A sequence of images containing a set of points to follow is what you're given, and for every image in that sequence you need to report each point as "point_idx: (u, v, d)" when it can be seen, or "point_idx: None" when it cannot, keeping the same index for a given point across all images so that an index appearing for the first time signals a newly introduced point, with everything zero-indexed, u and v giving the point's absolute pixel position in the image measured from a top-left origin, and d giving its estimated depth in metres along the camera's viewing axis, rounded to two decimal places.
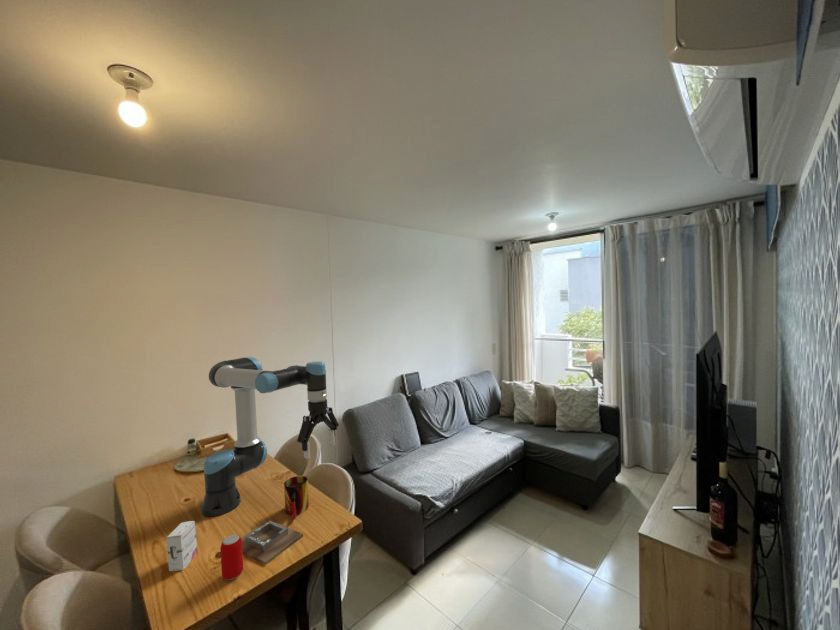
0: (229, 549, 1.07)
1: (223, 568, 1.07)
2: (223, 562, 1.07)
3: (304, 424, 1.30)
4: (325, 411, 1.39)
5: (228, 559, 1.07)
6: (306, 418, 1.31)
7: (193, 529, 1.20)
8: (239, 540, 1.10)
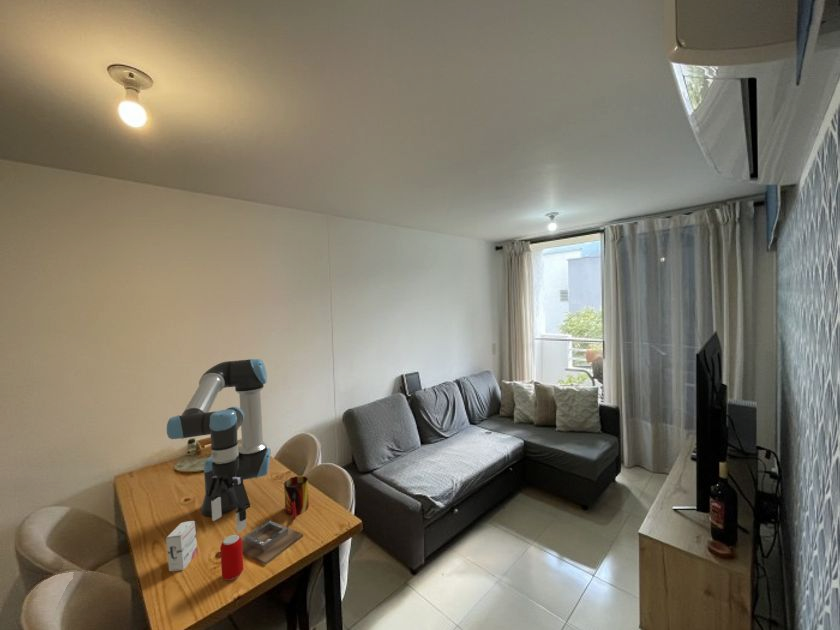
0: (229, 549, 1.07)
1: (223, 568, 1.07)
2: (223, 562, 1.07)
3: None
4: (228, 479, 1.06)
5: (228, 559, 1.07)
6: None
7: (193, 529, 1.20)
8: (239, 540, 1.10)
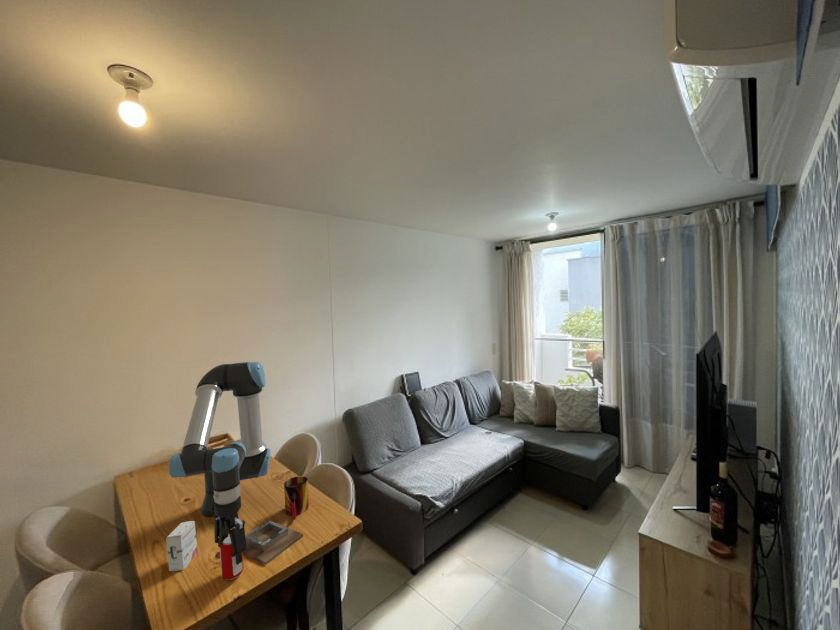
0: (229, 549, 1.07)
1: (223, 568, 1.07)
2: (223, 562, 1.07)
3: None
4: (230, 520, 1.07)
5: (228, 559, 1.07)
6: None
7: (193, 529, 1.20)
8: None
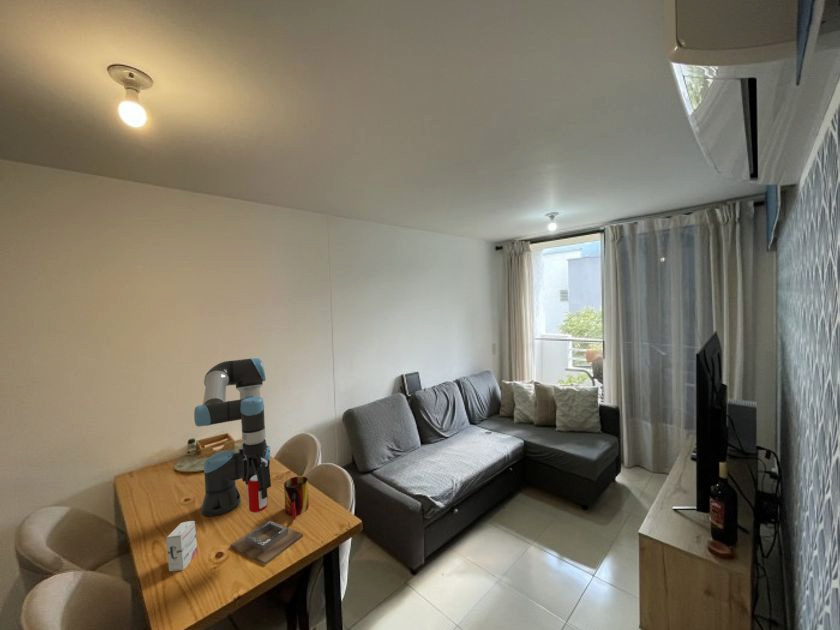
0: (255, 485, 1.19)
1: (250, 502, 1.19)
2: (250, 496, 1.19)
3: None
4: (257, 459, 1.19)
5: (255, 494, 1.19)
6: None
7: (193, 529, 1.20)
8: None
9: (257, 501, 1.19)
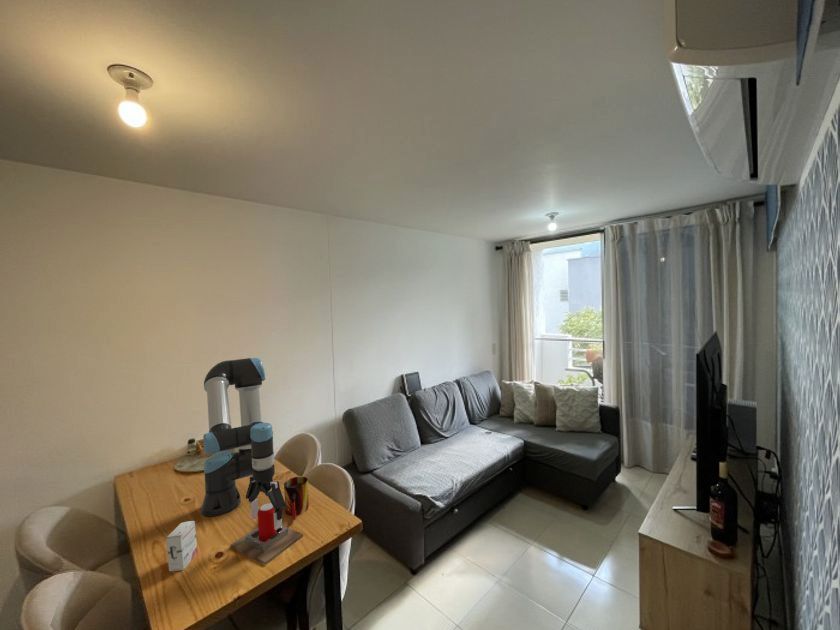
0: (265, 514, 1.23)
1: (260, 531, 1.23)
2: (260, 526, 1.23)
3: None
4: (266, 484, 1.23)
5: (264, 523, 1.23)
6: None
7: (193, 529, 1.20)
8: (273, 507, 1.26)
9: (267, 530, 1.23)
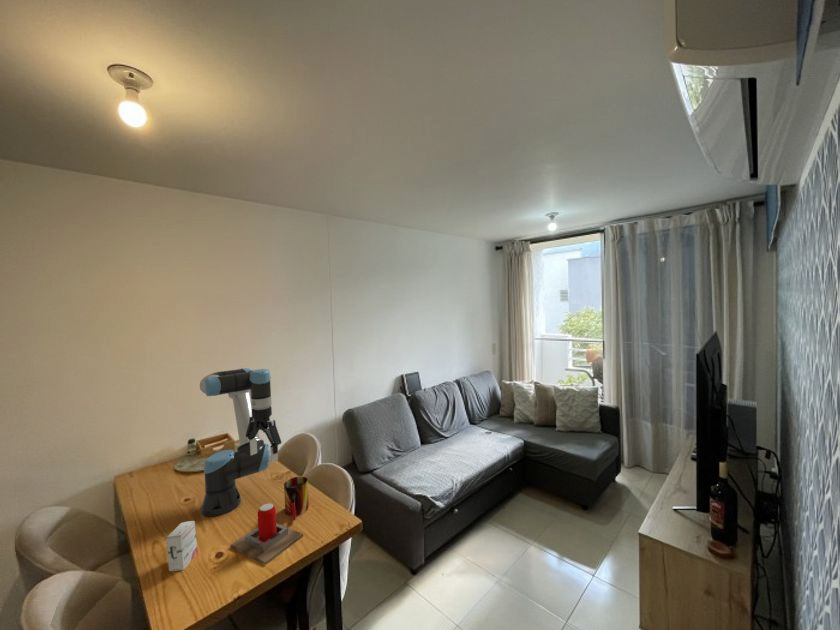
0: (265, 515, 1.23)
1: (260, 531, 1.23)
2: (260, 526, 1.23)
3: None
4: (264, 422, 1.37)
5: (264, 523, 1.23)
6: None
7: (193, 529, 1.20)
8: (273, 508, 1.26)
9: (267, 530, 1.23)
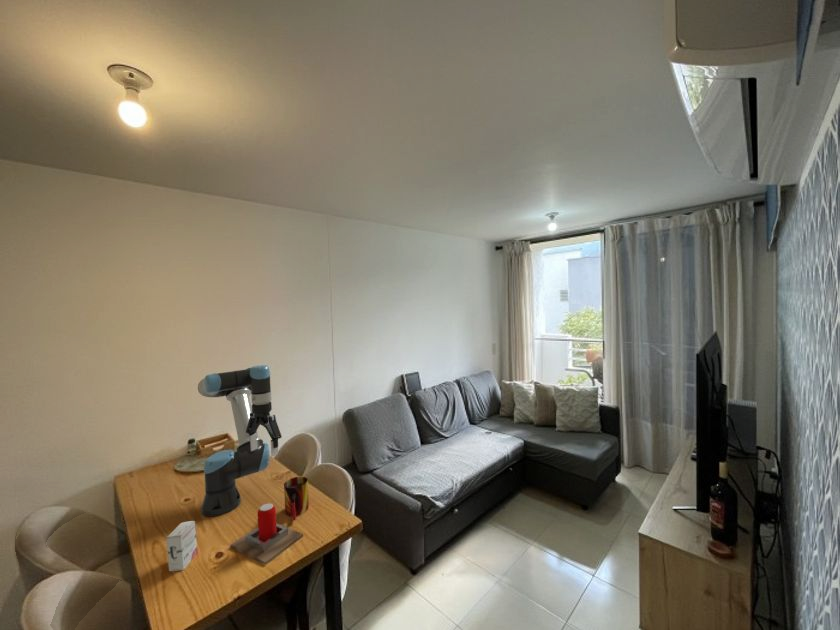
0: (265, 515, 1.23)
1: (260, 531, 1.23)
2: (260, 526, 1.23)
3: None
4: (264, 417, 1.39)
5: (264, 523, 1.23)
6: None
7: (193, 529, 1.20)
8: (273, 508, 1.26)
9: (267, 530, 1.23)
